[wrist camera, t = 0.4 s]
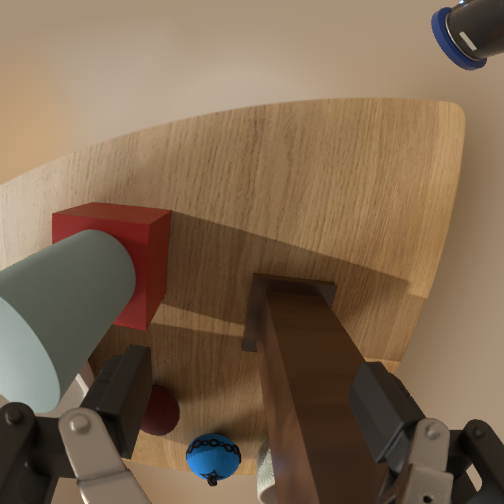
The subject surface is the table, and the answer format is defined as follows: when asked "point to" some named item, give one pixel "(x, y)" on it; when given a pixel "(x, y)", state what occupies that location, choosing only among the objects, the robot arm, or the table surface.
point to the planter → (265, 476)
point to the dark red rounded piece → (160, 412)
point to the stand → (309, 393)
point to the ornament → (213, 457)
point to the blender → (78, 296)
